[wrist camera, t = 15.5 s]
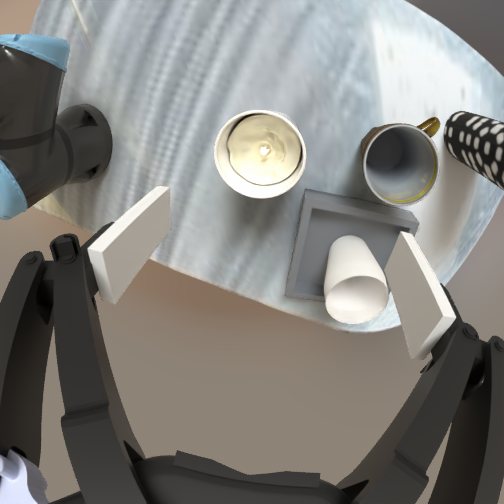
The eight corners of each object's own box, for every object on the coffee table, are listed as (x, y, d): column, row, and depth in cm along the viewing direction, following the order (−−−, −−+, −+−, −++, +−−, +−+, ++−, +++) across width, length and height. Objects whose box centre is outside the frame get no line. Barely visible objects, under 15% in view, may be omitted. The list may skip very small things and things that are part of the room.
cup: (375, 270, 45) (388, 320, 35) (325, 277, 48) (327, 328, 38) (373, 224, 41) (391, 269, 31) (318, 232, 44) (320, 279, 34)
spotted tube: (447, 104, 29) (533, 128, 12) (486, 120, 28) (570, 155, 11) (440, 154, 33) (516, 208, 17) (478, 166, 32) (553, 222, 16)
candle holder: (243, 172, 41) (222, 202, 32) (232, 110, 36) (205, 118, 26) (308, 167, 39) (309, 196, 29) (301, 102, 34) (300, 105, 24)
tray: (286, 281, 51) (285, 295, 48) (305, 188, 41) (305, 198, 38) (377, 295, 49) (380, 310, 46) (411, 211, 39) (419, 222, 36)
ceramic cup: (382, 193, 39) (401, 221, 31) (335, 150, 37) (345, 168, 29) (435, 136, 32) (467, 151, 24) (390, 88, 30) (416, 88, 22)
